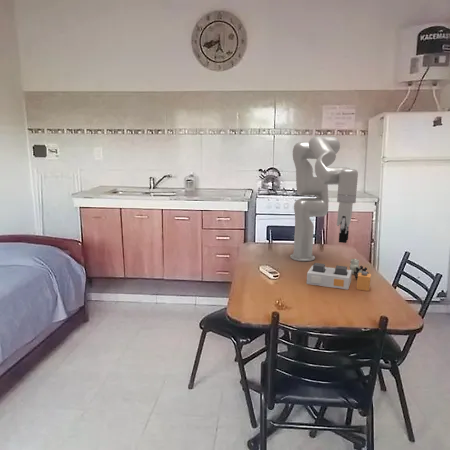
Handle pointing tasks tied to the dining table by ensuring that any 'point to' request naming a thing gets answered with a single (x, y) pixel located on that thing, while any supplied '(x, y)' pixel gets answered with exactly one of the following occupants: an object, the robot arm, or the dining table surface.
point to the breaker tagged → (341, 270)
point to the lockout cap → (363, 281)
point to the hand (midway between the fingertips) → (343, 240)
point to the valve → (356, 267)
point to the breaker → (319, 267)
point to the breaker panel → (329, 278)
